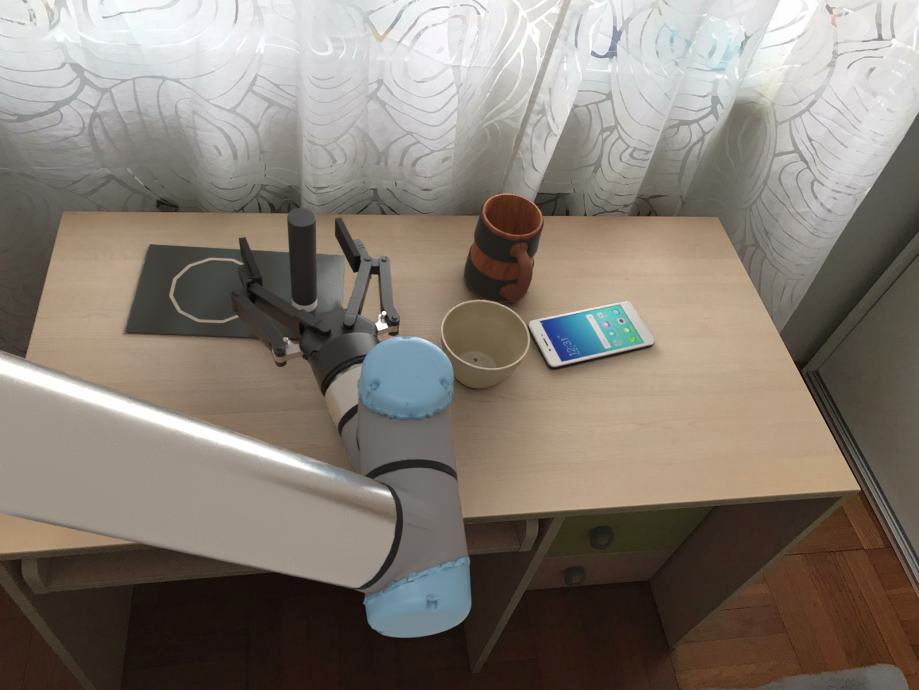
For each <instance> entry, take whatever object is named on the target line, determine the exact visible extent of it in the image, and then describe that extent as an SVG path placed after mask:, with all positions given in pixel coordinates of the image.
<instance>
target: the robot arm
mask: <svg viewBox="0 0 919 690" xmlns="http://www.w3.org/2000/svg"><path fill="white" fill-rule="evenodd" d="M334 237H335V238H336V240H337V242H338V244H339V246H340V249H341V250H342V253H343V255H345V258H346V261H347V262H348V265H349V267H350V269H351V271H352V272H353V274H356V273H357V274H356V278H355V281H354V286H353V288H352V293H351V296H350V297H349V300H348V303H347V307H346V308H344V307H343V306H342V307H339V308H335V309H333V310H331V311H329V312H319V313H315V314H314V316H313V315H312V314H310V313H309V312H307V311H305V310H304V309H301V310H299V309H297V308H296V307H294V306H293V305H291V304H289V303H288V302H286V301H285V300H283V299H281V298H280V297H278V296H277V295H275V294H273V293H272V292H270V291H269V290H267V289H265V288H264V287H263V283H262V276H261V274H260V271H259V269H258V267H257V264H256V262H255V259H254V257H253V254H252V252H251V250H252V249H251V248H250V244H249V242H248V240H247V237H246V236H243V237H239V238H238V243H239V244H238V245H239V249H240V252H241V257H242V259H243V262H244V264H242V265H239V267H238V271H239V278H240V280H241V283H242V286H243V289H241V290H233V291H232V292H231V300H232V307H233V311H234V312H235V313H236V314H237V315H238V316H239V317H240V319H241V320H242V321H243V322H244V323H245V324H246V325H247V326H248V327H249V328H250V329H251V330H252V332H253V333H254V334H255V335H256V336H257V337H258V338H259V340H260V342H262V344H263V345H264V346H265V347H266V348H267V349H268V350H269V351H270V353H271V355H272V358H273V362H274V364H275V366H276V367H278V368H283V367H285V366H286V365H287V364H288V361H289V360H293V359H298V358H302V359H303V360H305V361H306V362H307V363H308V364H309V367H310V368H311V372H312V373H313V376H314V378H315V381H316V383H317V385H318V388H319V391H320V393H321V395H322V396H323V397H324V403H325V404H326V407H327V410H328V412H329V414H330V416H331V419H332V421H333V424H334V426H335V428H336V431H337V433H338V435H339V437H340V439H341V441H342V443H343V446H344V449H345V451H346V453H347V456H348V459H349V461H350V463H351V466H352V468H353V471H351V470H348V469H345V468H342V467H340V466H336V465H335V464H334V465H333V464H331V463H327V462H326V461H322V460H320V459H316V458H313V457H311V456H307V455H305V454H301V453H299V452H296V451H293V450H290V449H288V448H284V447H282V446H278V445H276V444H272V443H271V442H267V441H264V440H261V439H258V438H255V437H253V436H250V435H247V434H244V433H241V432H238V431H235V430H233V429H230V428H226V427H224V426H221V425H218V424H215V423H212V422H210V421H206V420H203V419H201V418H197V417H195V416H192V415H189V414H187V413H184V412H180V411H178V410H175V409H173V408H169V407H166V406H163V405H160V404H157V403H154V402H152V401H148V400H146V399H143V398H140V397H137V396H134V395H131V394H128V393H125V392H122V391H119V390H117V389H114V388H112V387H109V386H106V385H102V384H100V383H98V382H97V383H96V382H95V381H91V380H88V379H85V378H83V377H79V376H77V375H74V374H70V373H68V372H65V371H62V370H60V369H56V368H53V367H51V366H48V365H45V364H42V363H39V362H36V361H33V360H31V359H27V358H25V357H21V356H19V355H16V354H13V353H10V352H7V351H4V350H2V349H0V514H1V515H4V516H9V517H15V518H18V519H22V520H27V521H33V522H36V523H37V522H38V523H42V524H47V525H52V526H55V527H56V526H57V527H61V528H66V529H70V530H76V531H79V532H85V533H88V534H94V535H99V536H102V537H109V538H113V539H118V540H122V541H127V542H132V543H137V544H141V545H146V546H150V547H155V548H159V549H165V550H169V551H174V552H178V553H184V554H189V555H193V556H197V557H202V558H206V559H207V558H208V559H212V560H216V561H221V562H226V563H231V564H235V565H239V566H244V567H249V568H254V569H259V570H263V571H269V572H274V573H278V574H282V575H287V576H291V577H297V578H300V579H305V580H310V581H315V582H319V583H320V582H321V583H325V584H329V585H334V586H340V587H343V588H347V589H350V590H355V591H358V592H360V593H364V599H363V603H362V604H363V605H364V607H365V613H366V619H367V624H368V625H369V626H370V628H371V629H372V630H374V631H376V632H377V633H379V634H381V635H382V636H386V637H390V638H401V639H404V638H405V639H407V638H421V637H426V636H427V637H428V636H432V635H436V634H439V633H442V632H445V631H448V630H451V629H453V628H454V627H456V626H458V625H460V624H461V623H462V622H463V621H464V620H465V619H466V618H467V617H468V615H470V614H469V613H470V612H471V609H472V590H471V589H472V588H471V571H470V568H471V567H470V565H471V560H470V556H469V552H468V551H469V550H468V544H467V538H466V531H465V523H464V518H463V510H462V509H463V508H462V502H461V496H460V489H459V481H458V480H459V479H458V471H457V464H456V455H455V454H456V453H455V447H454V437H453V432H452V431H453V430H452V423H451V416H450V414H451V413H450V404H451V403H452V400H453V398H454V394H455V391H454V390H455V389H454V379H455V376H454V372H453V367H452V364H451V362H450V360H449V358H448V357H447V355H446V354H445V353H444V352H443V350H442V348H441V347H439V346H438V345H436V344H435V343H433V342H431V341H430V340H428V339H426V338H421V337H418V336H406V335H403V336H398V335H399V334H400V333H399V332H400V324H401V316H400V314H399V312H398V311H397V308H396V307H395V305H394V293H393V282H392V272H391V260H390V257H389V256H387V255H381V256H379V258H374V257H372V256H371V255H370V254H369V252H368V249H367V248H366V246H365V245H364V243H363V240H361V239H360V238H356V239H353V237H352V236H351V234H350V232H349V230H348V227H347V225H346V224H345V222H344V220H343V217H341V216H340V217H336V218H334ZM373 275H374V276H375V275H376V276H377V281H378V295H379V308H380V309H379V310H380V314H378V316H377V322H376V323H375V322H373V320H371V319H369V318H366V317H364V316H363V315H362V312H363V308H364V306H365V301H366V297H367V293H368V290H369V286H370V283H371V280H372V277H373ZM260 311H262V312H264V313H265V314H267V315H268V316H270V317H271V318H273V319H275V320H276V321H278V322H279V323H281V324H282V325H284V326H286V327H287V328H289V329H290V330H292V331H293V332H294V333H295V335H296V336H297V337H299V338H300V339H301V340H299V343H297V344H296V343H293V342H292V340H288V338H287V337H283V338H282V335H281V334H280V332H279V331H278V330H277V328H276V327H275V326H274V325H273V324H272V323H271V322H270V321H269V320H268V319H267V318H266V317H265V316H264V315H263V314H262V313H261V312H260ZM386 334H388V336H391V337H390V338H387V339H384V340H382V341H380V339H379V338H378V337H379V336H383V335H386Z"/></svg>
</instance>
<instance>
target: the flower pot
mask: <svg viewBox="0 0 919 690" xmlns="http://www.w3.org/2000/svg"><path fill="white" fill-rule="evenodd" d="M530 335H531V333H530V332H529V330H528V325H526V322H525V321H524V320H523V319H522V318H521V316H520V315H519V314H518V313H517V312H515V311H514V310H512V309H511V308H510V307H508V306H506V305H505V304H504V305H503V303H496V302H492V301H487V300H484V299H474V300H473V299H472V300H466V301H463V302H460V303H459V304H456V305H454V306H452V308H450V310H448V311H447V313H446V314H445V315H444V317H443V319H442V320H441V325H440V343H441V350H442V351H443V352H444V353H445V354H446V355H447V357H448V358H449V360H450V362H451V364H452V367H453V372H454V378H456V379H457V380H458V381H459V382H460V383H461V384H463V385H464V386H466V387H468V388H471V389H477V390H478V389H485V388H489V387H492V386H494V385H497V384H498V383H500V382H502V381H503V380H505V379H506V378H507V377H509V376H510V375H511V374H512V373H513V372H514V371H515V370H516V369H517V368H518V367H519V366H520V365H521V364H522V362H523V360H524V359H525V358H526V355H527V353H528V351H529V350H530V345H531V336H530Z"/></svg>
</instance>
